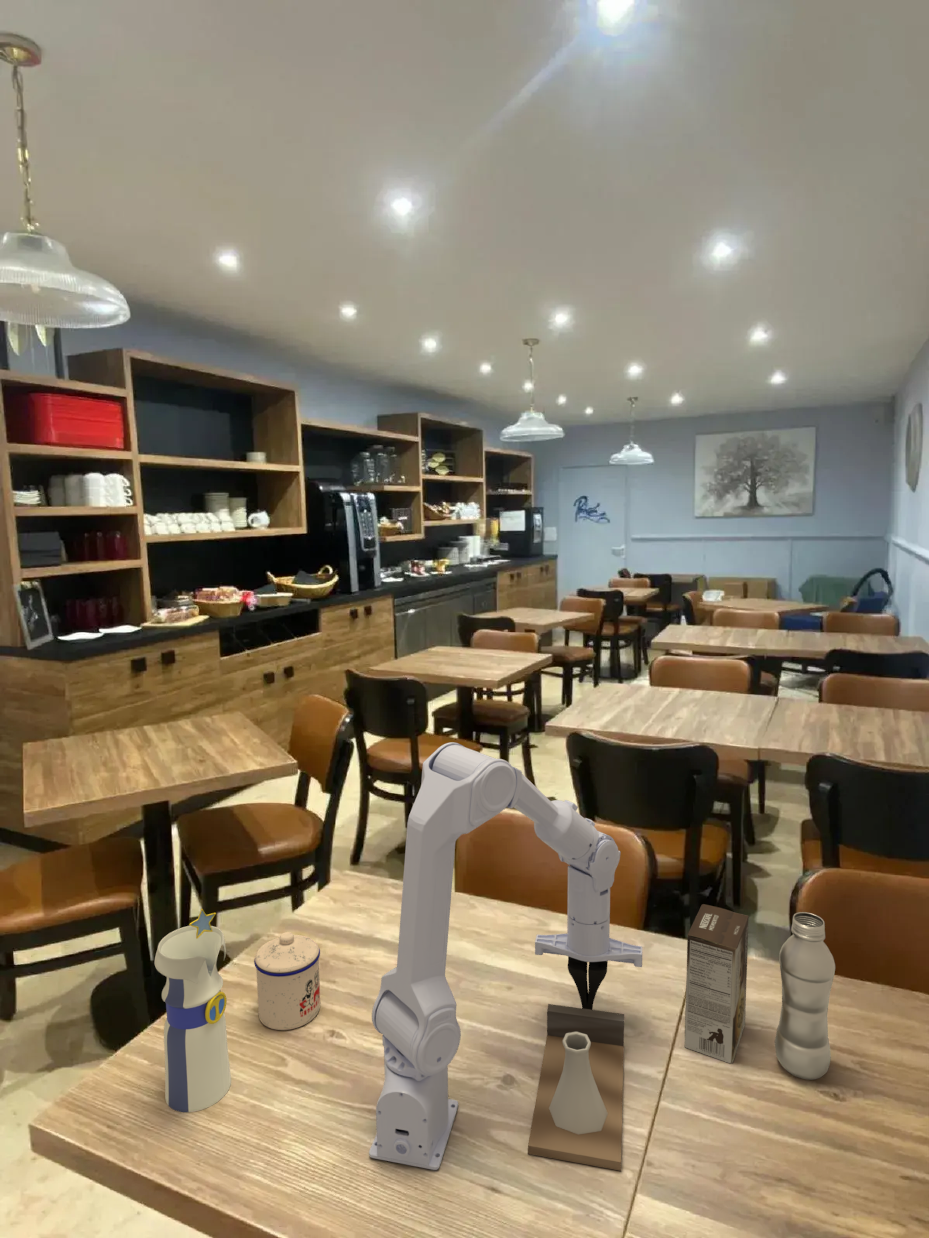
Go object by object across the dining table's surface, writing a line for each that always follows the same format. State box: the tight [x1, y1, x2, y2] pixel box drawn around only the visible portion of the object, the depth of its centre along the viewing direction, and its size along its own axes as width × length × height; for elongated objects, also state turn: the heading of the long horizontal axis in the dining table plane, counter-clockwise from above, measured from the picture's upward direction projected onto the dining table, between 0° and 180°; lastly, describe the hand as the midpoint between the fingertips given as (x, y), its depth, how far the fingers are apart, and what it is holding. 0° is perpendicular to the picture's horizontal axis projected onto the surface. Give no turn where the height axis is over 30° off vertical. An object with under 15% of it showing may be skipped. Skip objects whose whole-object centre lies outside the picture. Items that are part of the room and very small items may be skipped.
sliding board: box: [527, 1003, 625, 1172], centre depth 88 cm, size 20×10×4 cm, turn 167°
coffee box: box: [684, 903, 750, 1064], centre depth 98 cm, size 9×6×16 cm
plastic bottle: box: [774, 911, 836, 1081], centre depth 91 cm, size 6×7×20 cm
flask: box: [549, 1032, 608, 1135], centre depth 84 cm, size 7×7×10 cm
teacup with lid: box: [253, 931, 321, 1031], centre depth 105 cm, size 12×9×12 cm
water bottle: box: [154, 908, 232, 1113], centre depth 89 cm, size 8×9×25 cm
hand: (587, 1005), depth 102 cm, fingers closed
